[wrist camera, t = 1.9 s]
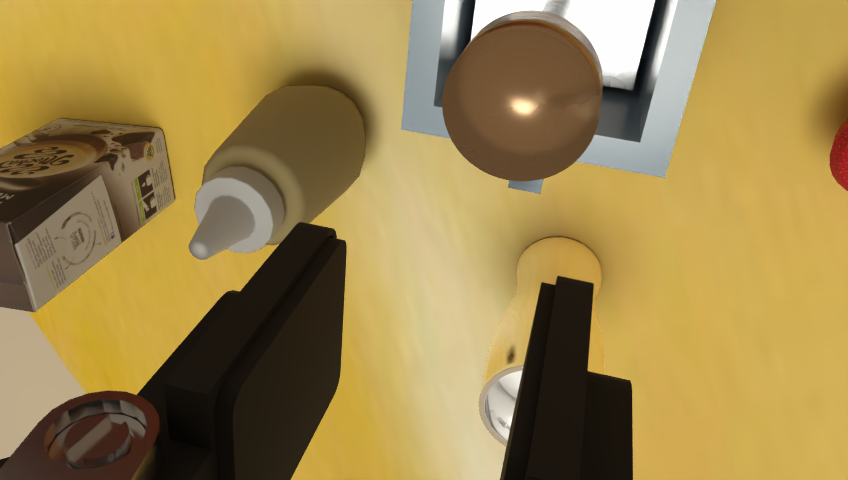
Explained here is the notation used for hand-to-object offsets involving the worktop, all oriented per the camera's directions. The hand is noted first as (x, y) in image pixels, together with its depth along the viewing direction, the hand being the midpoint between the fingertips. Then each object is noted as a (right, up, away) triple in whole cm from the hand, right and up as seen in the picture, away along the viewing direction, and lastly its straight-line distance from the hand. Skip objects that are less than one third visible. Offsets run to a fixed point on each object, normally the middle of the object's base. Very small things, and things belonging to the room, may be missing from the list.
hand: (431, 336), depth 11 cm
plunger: (+7, +14, +25) cm, 29 cm away
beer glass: (+10, -1, +42) cm, 43 cm away
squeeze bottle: (-7, +10, +41) cm, 42 cm away
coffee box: (-24, +8, +46) cm, 53 cm away
